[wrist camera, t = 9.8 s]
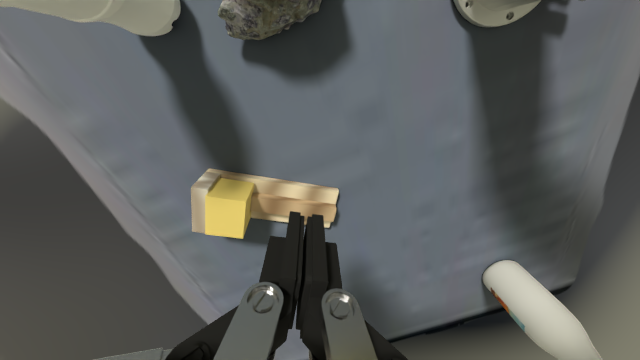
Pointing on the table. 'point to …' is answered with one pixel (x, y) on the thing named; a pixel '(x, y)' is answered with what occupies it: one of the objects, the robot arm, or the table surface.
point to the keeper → (228, 208)
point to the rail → (283, 191)
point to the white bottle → (110, 12)
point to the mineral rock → (264, 16)
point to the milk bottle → (539, 312)
